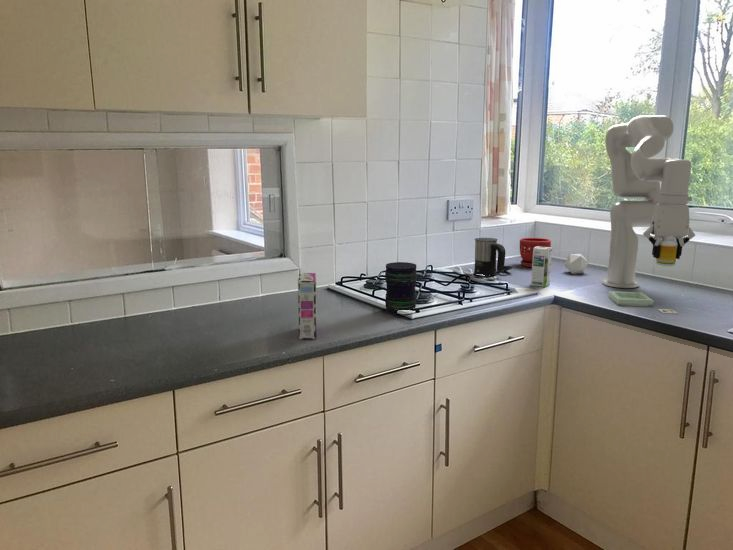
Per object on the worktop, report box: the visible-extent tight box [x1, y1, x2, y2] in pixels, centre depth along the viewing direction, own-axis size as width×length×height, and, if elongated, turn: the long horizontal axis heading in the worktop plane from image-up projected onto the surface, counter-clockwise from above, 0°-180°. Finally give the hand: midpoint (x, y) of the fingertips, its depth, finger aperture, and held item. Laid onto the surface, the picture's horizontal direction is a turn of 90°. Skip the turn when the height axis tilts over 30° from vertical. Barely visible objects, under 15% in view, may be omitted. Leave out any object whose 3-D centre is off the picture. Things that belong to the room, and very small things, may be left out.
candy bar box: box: [297, 272, 318, 341], centre depth 159 cm, size 11×5×16 cm, turn 5°
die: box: [564, 253, 589, 275], centre depth 237 cm, size 8×9×10 cm
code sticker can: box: [657, 308, 677, 314], centre depth 181 cm, size 4×4×1 cm
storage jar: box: [384, 261, 418, 316], centre depth 181 cm, size 10×10×15 cm
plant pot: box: [519, 237, 552, 268], centre depth 251 cm, size 13×13×12 cm
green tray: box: [607, 291, 654, 307], centre depth 193 cm, size 11×11×2 cm
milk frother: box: [473, 237, 515, 277], centre depth 235 cm, size 14×16×15 cm
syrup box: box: [530, 246, 553, 288], centre depth 215 cm, size 6×6×14 cm
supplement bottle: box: [655, 236, 678, 267], centre depth 179 cm, size 5×5×10 cm
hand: (666, 257), depth 180 cm, fingers closed on supplement bottle, 5 cm apart
